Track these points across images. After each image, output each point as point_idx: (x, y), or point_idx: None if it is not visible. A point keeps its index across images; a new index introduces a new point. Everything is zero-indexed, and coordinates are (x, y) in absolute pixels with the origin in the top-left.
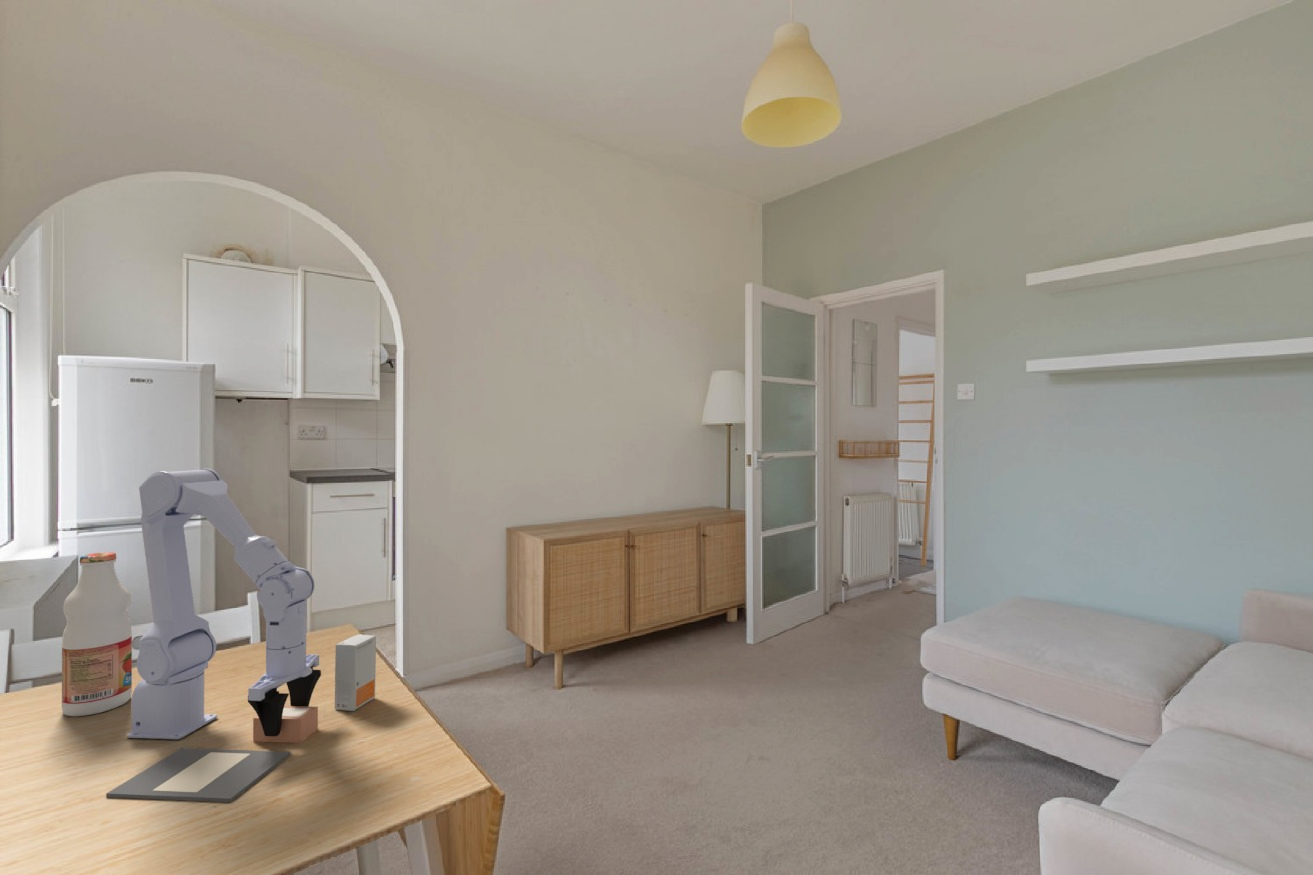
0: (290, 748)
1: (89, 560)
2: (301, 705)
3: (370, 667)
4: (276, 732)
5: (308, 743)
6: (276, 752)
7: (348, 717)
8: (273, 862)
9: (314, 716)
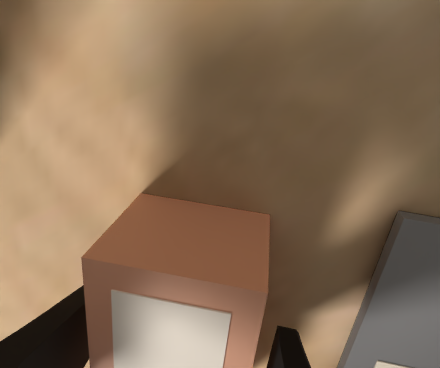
0: (324, 235)
1: None
2: (67, 343)
3: None
4: (301, 346)
5: (285, 175)
6: (391, 275)
7: (16, 91)
8: None
9: (139, 236)
